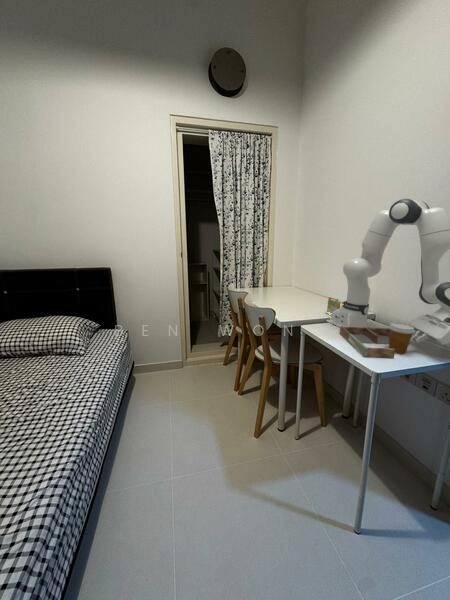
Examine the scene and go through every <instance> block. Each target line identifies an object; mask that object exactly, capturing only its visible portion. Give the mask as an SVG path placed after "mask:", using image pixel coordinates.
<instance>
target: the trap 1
mask: <svg viewBox="0 0 450 600" xmlns="http://www.w3.org/2000/svg"><path fill="white" fill-rule="evenodd" d="M352 335H353V336H354V337H355V338H357V339H358V340H359V341H360V342H361V343H362V344H375V343H374V342H373V341H371V340H370V339H369V338H368V337H366V336H365V335H357V334H352ZM375 345H376V344H375Z"/></svg>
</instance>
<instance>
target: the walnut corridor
mask: <svg viewBox="0 0 450 600" xmlns="http://www.w3.org/2000/svg"><path fill="white" fill-rule="evenodd" d="M339 334H340V336H341V337H343V339H345V341H347V342H348V344H349V345H351V347H353V349H355V350H356V352H358V353H359V355H361V356H362V357H363V358H373V359H375V358H376V359H377V358H378V359H395V355H396V353H395V349H393V348H389V347H388V348H387V347H367V346H366V345H365V344H364V343H361V342H360V341H359V340H358V339H357V338H355V337H354V336H353V335H352V334H357V335H365V336H366V337H368V338H369V339H370V340H371V341H373V342H374V343H375V345H378V344H377V341H378V335H381V336H388V337H389V334H390V329H389V327H388V328H386V327H370V326H369V327H368V326H367V327H345V326H340V327H339Z"/></svg>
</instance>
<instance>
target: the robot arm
mask: <svg viewBox="0 0 450 600" xmlns="http://www.w3.org/2000/svg"><path fill="white" fill-rule="evenodd" d="M401 225H403V226H404V225H405V226H411V225H412V226H416V227H417V230H418V235H419V244H420V270H421V271H420V273H421V274H420V275H421V285H420V287H419V291H418V295H419V299H420V300H421V301H422V302H423V303H425V304H427V305H439V306H440V308H439V309H437V310H436V311H434V312H433V313H432V314H422V315H420V316H418V317H416V318H414V319H412V320H411V321H410V322H409V323H408V325H410V326H412V327H414V330H415V331H416V332H415V334H414V336H413V335H412V337H411V339H412V340H413V341H415V342H416V343H420V342H422V341H426V340H429V339H430V340H432V341H434V342H435V343H437V344H439V345H441V346H442V345H443V346H445V345H447V344H449V343H450V281H442V282H440V278H439V274H440V273H439V264H440V261H441V258H442V257H443V256H444V255H445V254H446V253H447V252H448V251H449V250H450V217H449V214H448V212H447V211H446V209H445V208H443V207H438V206H437V207H431V208H430V207H429V205H428V204H427V203H426V202H424V201H423V200H419V199H416V198H402V199H399V200H397V201H395V202H393V203H392V205H391V206H390V208H389V209H383V210H380V211H379V212H378V213H377V214H376V216H375V217H374V218H373V221H371V224H370V225H369V226H368V229H367V232H366V234H365V236H364V238H363V240H362V242H361V247H362V251H361V255H360V256H359V257H353V258H352V259H349V260H347V261H346V262H344V264H343V265H342V266H343V268H342V272H343V274H344V275H345V277H346V281H347V295H346V300H344V301H342V302H341V305H342V306H340V308H339V309H337V310H335V311H333V312H332V314H331V315H330V317H331V318H330V317H329V318H330V320H325V321H326V322H327V323H329V324H331V325H333V324H334V325H333V326H335V325H336V327H339V328H340V326H345V327H368V314H369V307H370V304H369V302H370V296H371V288H370V287H369V281H368V279H369V278H372V277H374V276H376V275H378V274H379V273H380V272H381V270H382V260H383V255H384V252H385V250H386V248H387V246H388V244H389V242H390V240H391V238H392V236H393V234H394V232H395V230H396V229H397V228H398V227H399V226H401Z"/></svg>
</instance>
